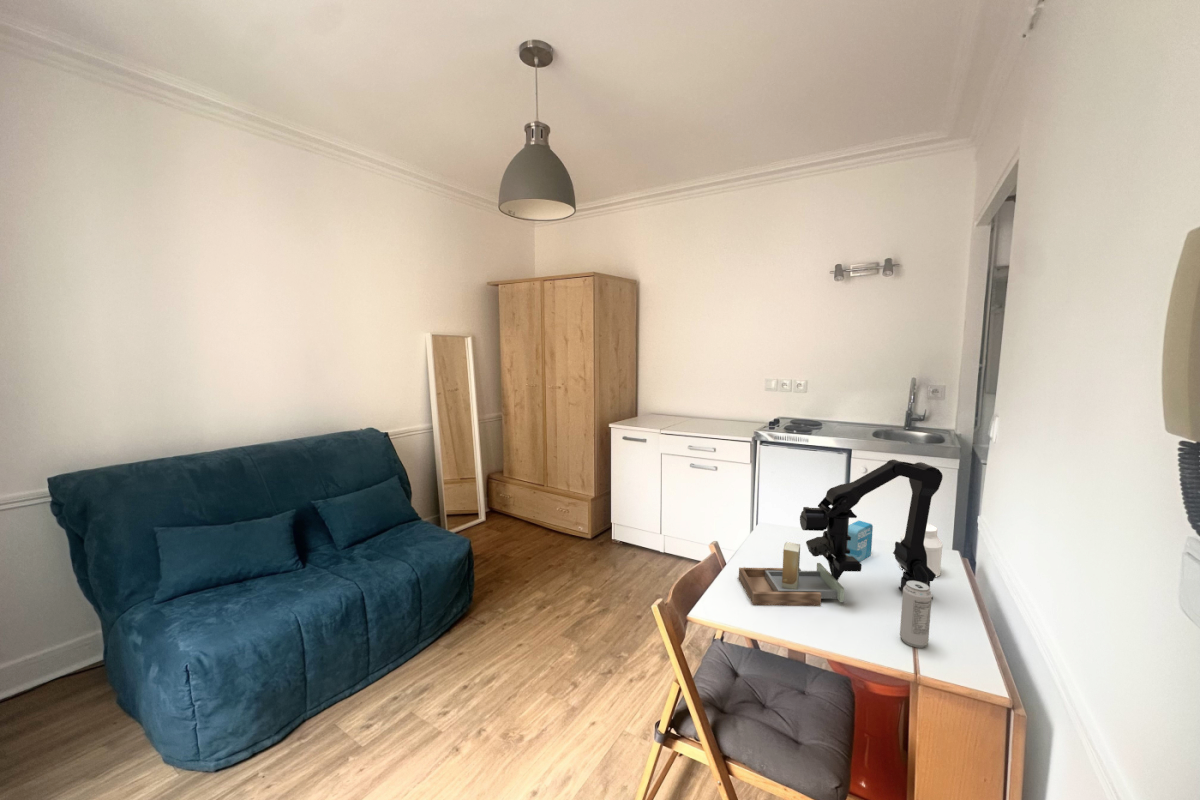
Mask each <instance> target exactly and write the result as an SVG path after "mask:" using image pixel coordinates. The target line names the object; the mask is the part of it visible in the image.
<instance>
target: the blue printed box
mask: <svg viewBox="0 0 1200 800" xmlns="http://www.w3.org/2000/svg"><path fill="white" fill-rule="evenodd" d="M873 529H874V526H873V524H872V523H869V522H866V521H862V520H856V521H854V522H852V523H849V527H848V535H849V536H850V537H851V540H848V545H847V548H848V549H849V550H850V554H846V555H848V556H853V557H854V558H855V559H856V560H858V561H859V562H860V561H861V562H862V561H863V560H865V558H866V559H868V558H869V557H870V556H871V554H872V545H873V531H874V530H873ZM861 562H860V563H861Z"/></svg>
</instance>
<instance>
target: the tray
mask: <svg viewBox="0 0 1200 800" xmlns="http://www.w3.org/2000/svg"><path fill="white" fill-rule="evenodd" d="M782 575H783V571H772V570H765V578H766V580H767V581H768V583H769V584H770V586H771V587H772V589H773V590H774V592H820V593H821V599H837V601H839V602H840V603H843V602H844V601H845V600H844V599H845V588H844V586H842V584H841V583H840V582H839V581H838V580H836V579H835V578H834V577H833V576H832V575H831V572H830V571H828V570H827V568H825V566H824V565H822V563H821V562H817V563H816V570H801V571H799V583H798V588H797V590H793V589H788V588H783V587H782Z"/></svg>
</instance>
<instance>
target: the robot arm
mask: <svg viewBox="0 0 1200 800" xmlns="http://www.w3.org/2000/svg"><path fill="white" fill-rule="evenodd" d="M943 476H944V475H943V473H942V472H941V471H940V470H939V468H937V467H934V466H932V465H930V464H927V463H925V462H921V461H920V462H915V463H911V462H907V461H900V460H897V459H890V460H887V462H886V463H885V464H882V465H880V466H878V467H877V468H876V469H874V470H872V471H870V472H868V473H866V474H865V475H863V476H861V477H860V478H859V477H858V479H856V480H854V481H851V482H848V483H842V484H838V485H836V486H834V487H833V486H832V487H831V488H829V489H828V490H827V491H826V495H825V497H823V499H822V500H821V501H820V502H819V503H818V505H817V507H809V506H804V507H803V509H802V511H801V513H800V515H799V525H800V528H801V529H802V531H814V532H815V531H816V532H821V531H822V536H816V537H814V538H811V539H809V540H806V541H805V544H806V546H807V550H808V552H809V553H810V554H811V555H812V556H813V557H819V556H823V557H824V559H826V561H827V563H828V566H829V570H830V571H829V572H830V574H831V575H832V576H833V577H834V578H835V579H836V580H837V581H838V580H839V579H840V577H842V575H843V573H844V572H857V573H858V572H861V571H862V568H863V567H862V563H861V562H859V561H858V560H856V559H855V558H854V557H853V556H848V555H846V554H850V550H849V549H848V548H847V545H848V540H851V537H850V536H849V535H848V527H849V525H850V523H849V522H850V519H857V518H858V516H857V514H855V513H854V512H853V510H852V508H854V506H856V505H858V504H859V502H860V500H861V499H862V498H863V497H864V496H865V495H867V494H869V493H871V492H873V491H875V490H877V489H878V488H880V487H881V486H883V485H886V484H887V483H889V482H891V481H893V480H894V479H896V478H898V477H904V478H908V483H909V486H910V488H911V499H910V503H909V504H910V505H909V510H908V517H907V522H906V528H905V532H906V533H905V532H904V533H905V538H904V539H903V540H902V541H901V540H900V542H899V541H895V543H894V550H893V552H892V554H893V555H894V558H895V561H896V562H897V563H898V565H899V564H900V566H901V568H902V569H904V570H905V571H903V572H902V576H901V578H900V586H898V589H899V590H900V591H901V592H902V593H903V587H904V586H905V585H906V582H907V581H919V582H922V583H924V584H926V585H928V586H929V590H930V589H931V588H930V587H931V582H933V581H934V580H935V576H936V574H935V573H933V572H932V571H931V570H930V569H929V568H928V567H927V554H926V550H925V547H924V538H925V532H926V527H927V524H928V521H929V514H930V509H931V502H932V498H933V496H934V495H935V494H936V493H937V492H938V491H939V489H940V487H941V484H942V482H943V481H942V480H943ZM830 506H831V507H830ZM902 569H901V570H902ZM932 600H933V596H932Z"/></svg>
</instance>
